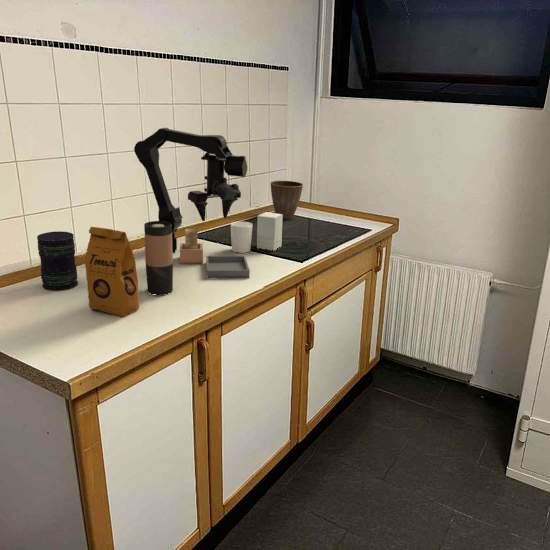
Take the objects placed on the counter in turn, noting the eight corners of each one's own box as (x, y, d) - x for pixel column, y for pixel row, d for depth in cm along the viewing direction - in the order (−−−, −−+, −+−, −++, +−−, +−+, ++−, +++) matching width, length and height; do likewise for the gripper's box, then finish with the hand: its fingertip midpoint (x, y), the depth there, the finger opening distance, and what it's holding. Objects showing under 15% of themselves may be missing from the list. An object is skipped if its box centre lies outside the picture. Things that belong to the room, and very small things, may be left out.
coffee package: (120, 321, 135) (115, 237, 127) (83, 311, 140) (76, 229, 132) (146, 308, 143) (142, 228, 136) (110, 298, 148) (104, 221, 141)
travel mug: (178, 288, 158) (176, 222, 151) (165, 297, 151) (163, 228, 144) (155, 284, 160) (153, 219, 153) (141, 293, 153) (138, 225, 146)
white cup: (253, 248, 200) (253, 222, 197) (250, 254, 193) (250, 227, 189) (232, 246, 201) (232, 220, 197) (228, 252, 193) (228, 226, 190)
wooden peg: (185, 260, 181) (185, 232, 177) (185, 257, 184) (185, 228, 181) (197, 260, 181) (197, 232, 178) (197, 256, 185) (197, 228, 182)
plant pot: (299, 214, 256) (301, 181, 251) (302, 222, 242) (304, 186, 237) (268, 213, 255) (269, 180, 250) (269, 221, 241) (271, 185, 236)
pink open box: (180, 264, 179) (179, 249, 177) (180, 257, 186) (180, 243, 184) (202, 263, 180) (202, 249, 178) (202, 257, 187) (202, 243, 186)
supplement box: (282, 246, 204) (283, 214, 199) (273, 251, 197) (275, 217, 193) (264, 243, 207) (265, 211, 202) (256, 248, 200) (257, 215, 196)
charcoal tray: (207, 278, 167) (207, 270, 166) (206, 262, 181) (206, 255, 180) (249, 277, 169) (249, 270, 168) (244, 262, 183) (245, 255, 182)
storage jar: (41, 281, 159) (36, 232, 154) (76, 277, 163) (72, 230, 158) (42, 292, 150) (36, 241, 145) (79, 289, 154) (75, 239, 149)
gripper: (207, 180, 168) (206, 228, 173) (252, 176, 180) (250, 221, 185) (187, 174, 175) (186, 220, 180) (231, 171, 187) (229, 214, 193)
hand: (214, 219), depth 185 cm, fingers open, 9 cm apart
